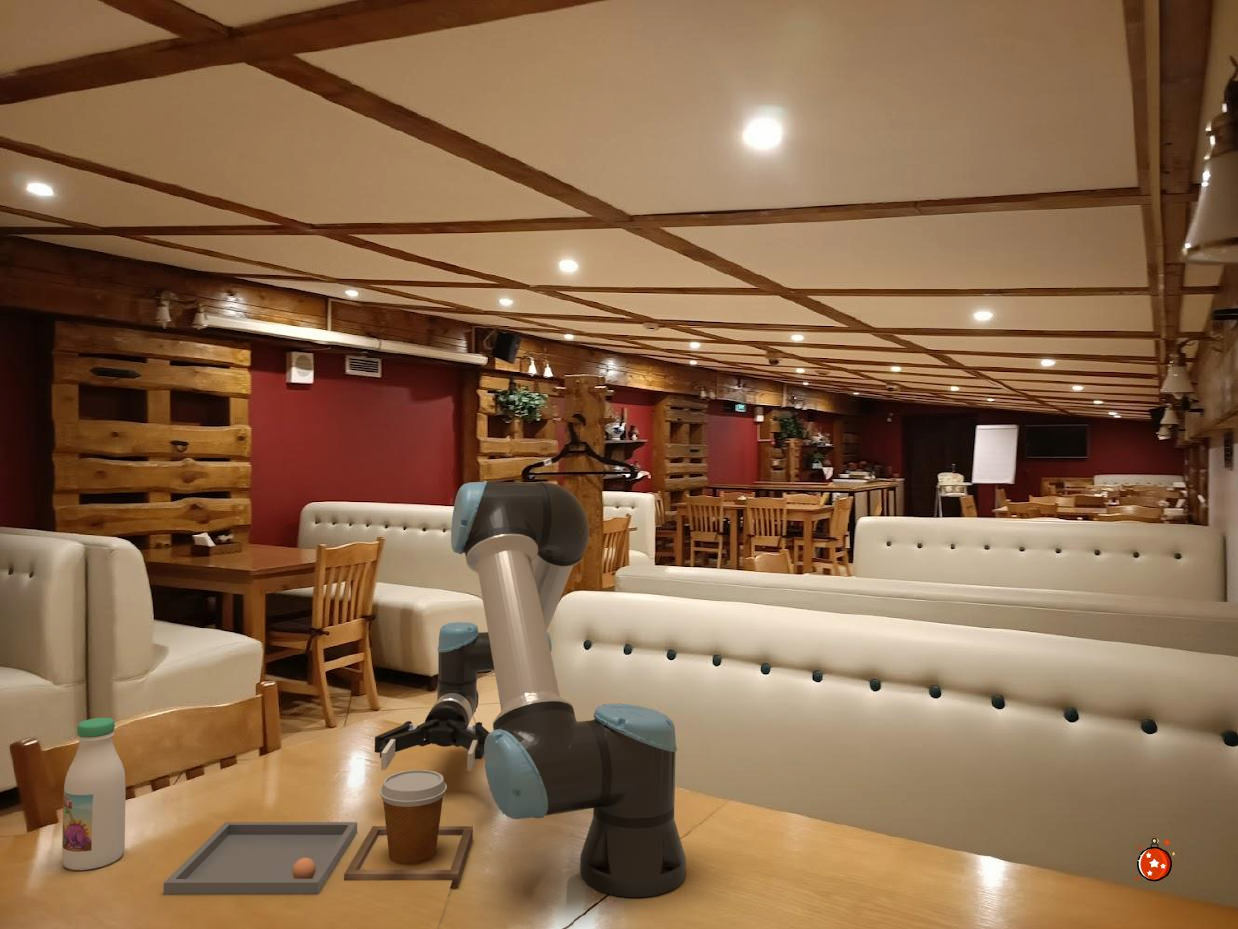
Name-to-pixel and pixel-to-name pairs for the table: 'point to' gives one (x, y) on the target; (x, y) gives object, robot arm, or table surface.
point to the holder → (451, 874)
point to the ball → (304, 869)
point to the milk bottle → (94, 800)
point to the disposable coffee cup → (412, 814)
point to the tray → (262, 858)
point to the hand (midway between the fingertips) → (426, 761)
